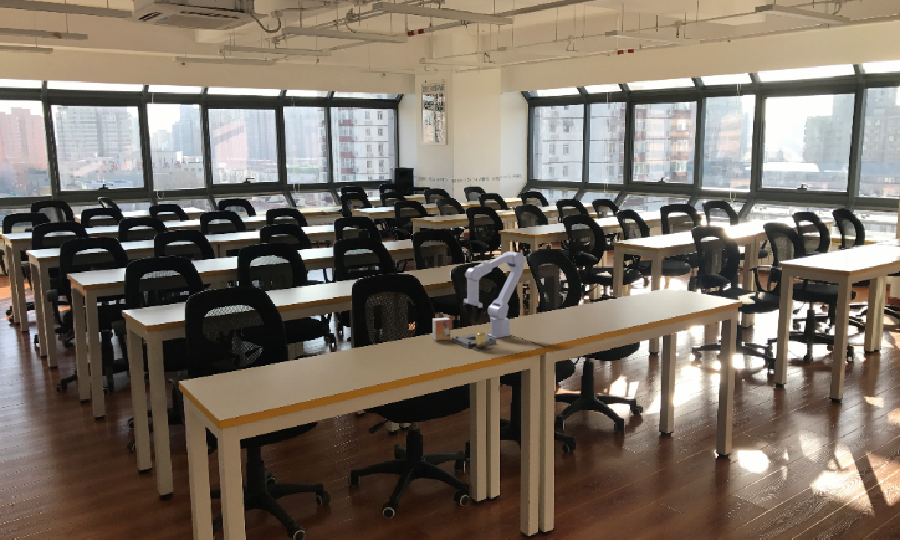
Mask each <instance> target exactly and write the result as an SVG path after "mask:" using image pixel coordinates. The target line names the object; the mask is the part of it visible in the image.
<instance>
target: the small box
mask: <svg viewBox="0 0 900 540" xmlns="http://www.w3.org/2000/svg"><path fill="white" fill-rule="evenodd" d="M432 339H433V340H434V341H435V342H436V341H437V342H438V341H450V340H452V336H451V319H450V318H449V317H446V316H445V317H437V318H434V317H433V318H432Z"/></svg>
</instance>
